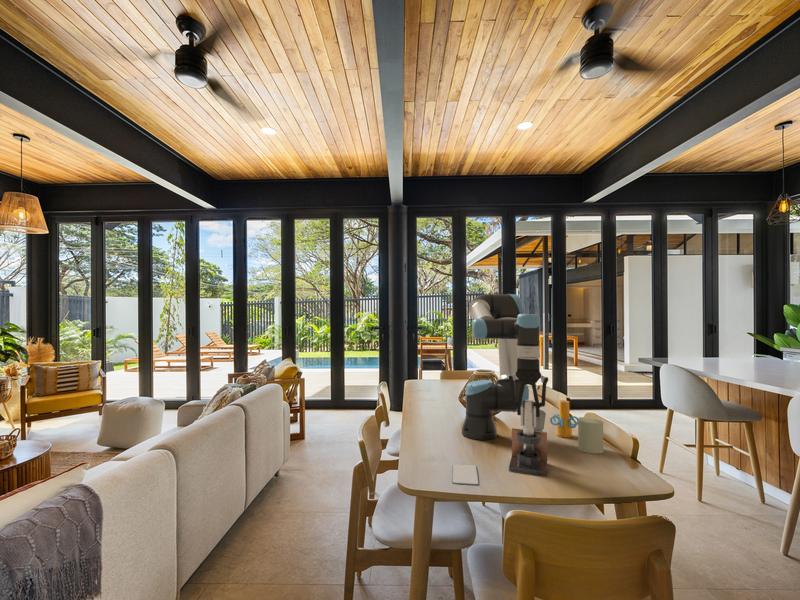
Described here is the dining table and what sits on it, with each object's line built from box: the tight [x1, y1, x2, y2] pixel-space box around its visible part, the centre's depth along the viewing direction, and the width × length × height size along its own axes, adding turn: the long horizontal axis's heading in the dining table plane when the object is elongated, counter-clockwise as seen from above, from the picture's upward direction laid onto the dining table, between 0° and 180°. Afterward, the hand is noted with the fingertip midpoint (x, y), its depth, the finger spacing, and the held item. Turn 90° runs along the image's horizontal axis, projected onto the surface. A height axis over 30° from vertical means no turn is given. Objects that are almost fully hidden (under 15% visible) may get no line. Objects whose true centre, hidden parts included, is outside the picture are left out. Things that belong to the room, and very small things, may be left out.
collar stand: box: [508, 428, 548, 477], centre depth 135 cm, size 12×12×11 cm
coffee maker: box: [534, 401, 547, 432], centre depth 153 cm, size 15×9×18 cm, turn 149°
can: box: [577, 416, 605, 455], centre depth 153 cm, size 9×9×12 cm
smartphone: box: [451, 463, 480, 487], centre depth 128 cm, size 8×1×15 cm
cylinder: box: [549, 399, 579, 439], centre depth 170 cm, size 12×10×15 cm
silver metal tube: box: [522, 399, 535, 457], centre depth 135 cm, size 4×4×20 cm
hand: (528, 425), depth 135 cm, fingers closed on silver metal tube, 3 cm apart
